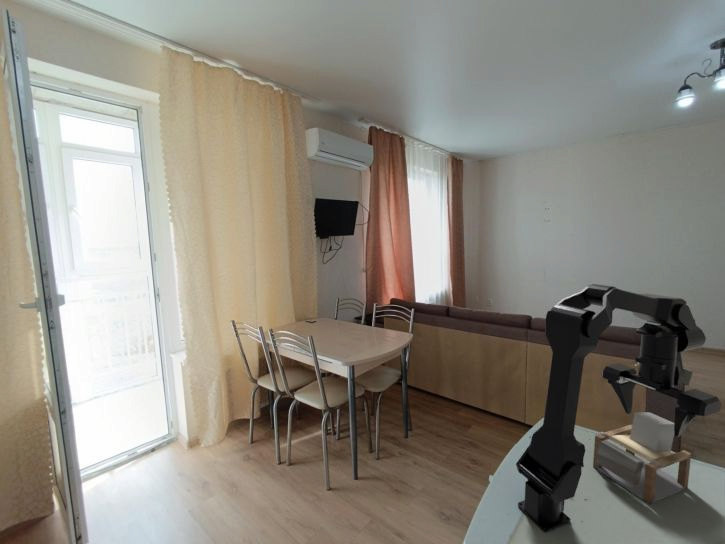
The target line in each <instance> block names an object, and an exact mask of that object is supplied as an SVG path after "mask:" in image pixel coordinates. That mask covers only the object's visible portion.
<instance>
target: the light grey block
mask: <svg viewBox="0 0 725 544" xmlns="http://www.w3.org/2000/svg"><path fill="white" fill-rule="evenodd" d="M631 425H632V429H631V434H630V439H631V440H633V441H635V442H637V443H639V444H641V445H643V446H644V447H646V448H648V449H650V450H652V451H654V452H666V451H672V447H673V441H674V437H675V432H674V422H673V421H671V420H668V419H666V418H663V417H661V416H659V415H658V414H657V415H656V414H654V413H652V412H649V411H647V412H644V411H643V412H641V411H640V412H634V415H633V421H632V424H631Z"/></svg>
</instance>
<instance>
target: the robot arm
mask: <svg viewBox="0 0 725 544" xmlns="http://www.w3.org/2000/svg"><path fill="white" fill-rule="evenodd" d="M591 305H593V306H598V307H600V309H599V310H598V311H596V312H595V311H594V310H589V309H587V308H589V307H591ZM617 309H618V310H622V311H626V312H630V313H632V315H633V316H635V317H637V318H639V319H640V320H642V321H646V322H645V323H644V324H643V325H641V326H640V327H638V328H637V329H636V331H635V333H636V334H638V335H641V337H640V338H641V339H640V349H639V350H640V351H639V356H636V357H635V362H636V363H638V371H637V370H636V369H635V368H634V367H631V366H628V365H625V364H622V363H620V362H619V363H614V364H609V365H605V366H604V367H603V368H602V371H601V372H602V373H601V377H602V379H605V380H607V383H608V384H609V385H610V386H611V387H612V389H613V390H614V392H615V394H616V396H617V397H618V399H619V402H620V404H621V405H622V407H623V408H622V409H624V412H625V413H626V414H627V415H630V414H632V410H633V399H634V397H633V395H634V389H635V387H636V385H639V386H641V387H644V388H646V389H649V390H652V391H654V392H657V393H660V394H663V395H665V396H667V397H670V398H673V399H676V404H677V405H678V406H677V407H675V408H674V422H673V423H674V432H675V433H674V437H676V438H678V437H681V436H682V435H683V433H684V432H685V430H686V429H687V428H688V426H689V425H690V423H691V422H692V420H693V419H694V418H696V417H697V418H698V417H700V416H701V417H706V416H709V415H713V414H716V413H720V412H721V407H722V402H721V401H720V399H719V397H718V396H717V395H714V394H711V393H707V392H705V391H701V390H700V389H696V388H693V389H689V390H686V391H684V390H681V389H678V388H676V387H679V386H680V387H681V386H682V385H685V386H688V387H689V385H690V382H691V379H692V377H693V373H694V371H690V370H688V369H685V368H683V367H682V368H681V362H680V360H677V353H682V352H687V351H691V350H696V349H700V348H701V347H702V346H704V344H705V342H706V340H707V338H706V336H705V333H704V331H703V329H701V327H699V326H698V325H697V323H696V319H695V318H694V316H693V313H692V311H691V308H690V306H689V305H688V303H687V301H686V300H685V299H684V298H681V297H673V296H667V295H658V294H652V293H635V292H631V291H627V290H623V289H619V288H617V287H616V286H612V285H605V284H604V285H603V284H597V283H596V284H595V283H592V284H587V285H586V286H585V287H584V288H583V289H582V290H581V291H579V292H576V293H574V294H571V295H568V296H566V297H564V298H562V299H560V300H559V301H558V302H557V303H556V304H555V305H553V307H552V308H551V309H549V310H547V312H546V315H545V319H544V320H545V321H544V322H545V323H544V324H545V329H544V330H545V337H546V340H547V342H548V344H549V346H550V350H552V351H551V354H552V355H551V361H550V371H549V376H548V377H549V378H548V385H547V393H546V402H545V407H544V416H543V423H542V425H541V426H540V427H539V428H538V429H537V430H536V431H535V432H533V433H532V435H531V439H530V443H529V445H528V446H527V448H526V449H525V451H524V452H523V453H522V455H521V456H520V458H519V459H518V460H517V462H516V463H515V465H516V469H517V472H518V473H519V474H521V475H522V476H523V477H524V478H526V479H527V480H526V481H525V482H524V484H525V485H524V500H521V501H519V502H517V507H518V508H519V509H520V510H521V511H522V512H523V513H524V514H525V515H526V516H527V517H528V518H529V519H530V520H531V521H532V522H533V523H535V525H536V526H537V527H539V528H540V530H542V531H543V532H545V533H548V532H551V531H553V530H555V529H557V528H560V527H562V526H565V525H567V524H570V523H571V518H570V517H569V515H567V514H566V513H565V512H564V511H565V501H566V500H569V499H572V498H574V497H575V495H576V491H577V489H578V486H579V482H580V479H581V476H582V468H584V467H585V463H584V458H585V454H586V447H585V446H586V445H585V444H583V443H582V442H580V441H579V440H578V439H576V436H575V427H576V420H577V413H578V405H579V399H580V398H579V397H580V391H581V385H582V379H583V378H582V377H583V370H584V364H585V363H584V362H585V358H586V357H587V356H588V355H589V354H590V353H591V352H592V351H594V349H595V348H596V347H598V342H599V338H600V337H601V336H600V335H601V334H602V333H604V331H606V330H607V329H608V328H609V327H610V325H612V324H613V311H614V310H617ZM637 372H638V374H637ZM674 386H676V387H674Z"/></svg>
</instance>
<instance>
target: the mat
mask: <svg viewBox="0 0 725 544" xmlns="http://www.w3.org/2000/svg"><path fill="white" fill-rule="evenodd" d="M634 456H635V457H637V458H638V459H640V460H642V461H644V462H643V467H642V472H641V477H640V481H639V484H638V485H631V484H629V483H628V482H626V481H625V480H623V479H622V478H620V477H619V476H617V475H615V474H614V473H612V472H611V471H609V470H608V469H606V468H605V467H603V466H602V467H599V468H598V467H597V466H596V467H595V466H593V465H592V468H594V469H596V470H597V468H598V472H600V473H602V474H603V475H605V476H606V477H608V478H610V479H611V480H612V481H614V482H616V483H617V484H618V485H620V486H621V487H622V488H624V489H625V490H627V491H629V492H630V493H632V494H634V495H635V496H636V497H638V498H639V499H641V500H642V501H644V502H646V501H647V502H649V501H648V500H646V499H645V498H643V490H644V479H645V467H646V464H647V463H649V461H647V460H645V459H644V460H643V458H640V456H638V455H636V454H635V455H634ZM677 479H678V478H675V477H674V476H672V475H670V474H669V473H667V472H665V471H663V470H661V469H659V470H657V471H656V482H655V493H654V500H652V501H654V502H653V503H656V502H659V501H660V500H663V499H666V498H667V497H669V496H671V495H674V494H676V493H680V492H681V491H683V490H686V489H685V487H684V486H682V485H680V484H679V483H677ZM643 499H644V500H643ZM647 502H646V503H647ZM650 502H651V501H650ZM650 502H649V503H648V504H649V505H651V504H650ZM653 503H652V504H653Z"/></svg>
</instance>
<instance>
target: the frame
mask: <svg viewBox="0 0 725 544" xmlns="http://www.w3.org/2000/svg"><path fill="white" fill-rule="evenodd" d="M631 429H632V424H628V425H625V426H622V427H618V428H615V429H612V430H609V431H605V432H603V431H600V432H599V434H595V435H594V447H593V448H594V449H593V460H592V461H593V462H592V467H593V466H595V467H596V466H597V467H598V468H599V467H602V466H601V465H600V464H598V463H597V462H596V460H597V455H598V450H599V445H600V441H608V440H610V439H609V438H610V436H613V435H628V434H631ZM625 451H626V452H628V453H630V454H631V455H633V456H634V455H635V456H636V454H635V453H633V452H631V451H630V450H628V449H626V448H625ZM691 459H692V453H691V452H689V451H687V450H685V449H683V450H681V451H678V452H675V454H672V455H669V456H666V457H664V458H661V459H658V460H656V461H655V460H652V461H651V462H648V463H647V464H646V467H645V479H644V490H643V498H645V499H646V500H648V501H649V502H650V501H651V502H650V504H649V502H647V501H645V503H646V504H649V505H652V504H653V502H654V501H652V500H654V493H655V482H656V471H657V470H659V469H660V470H661V469H663V468H666V467H670V466H671V465H675V464H677V463H678V470H677V471H678V472H677V478H676V479H677V483H679V484H680V485H682V486H684V487H685V489H684V490H686V489H688V487H689V478H690V470H691V469H690V468H691V461H692V460H691ZM598 468H597V469H596V470H598ZM598 471H599V470H598ZM642 501H644V499H643V500H642ZM654 503H655V502H654Z"/></svg>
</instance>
